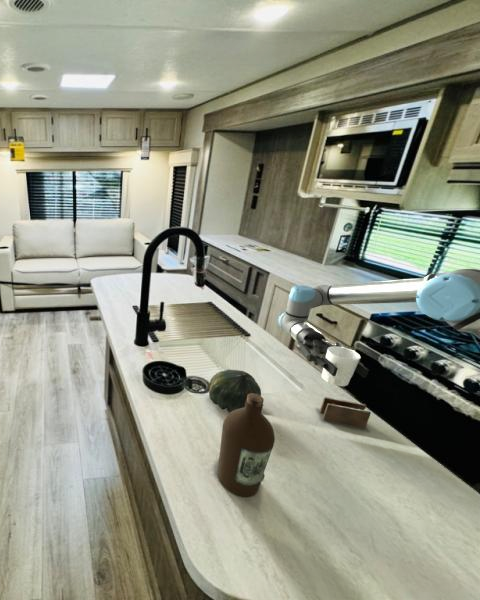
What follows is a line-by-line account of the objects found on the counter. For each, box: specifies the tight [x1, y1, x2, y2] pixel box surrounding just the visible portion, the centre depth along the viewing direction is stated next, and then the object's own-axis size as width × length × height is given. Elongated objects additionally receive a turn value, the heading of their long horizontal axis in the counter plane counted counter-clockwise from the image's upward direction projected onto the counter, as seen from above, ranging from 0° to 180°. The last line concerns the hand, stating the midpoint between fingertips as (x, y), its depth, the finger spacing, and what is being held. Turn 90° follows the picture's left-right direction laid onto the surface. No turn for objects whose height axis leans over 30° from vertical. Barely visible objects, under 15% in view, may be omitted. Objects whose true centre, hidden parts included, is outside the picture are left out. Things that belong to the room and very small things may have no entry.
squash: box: [208, 369, 262, 413], centre depth 100 cm, size 14×15×15 cm
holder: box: [319, 396, 372, 430], centre depth 93 cm, size 10×5×7 cm, turn 68°
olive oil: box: [216, 393, 276, 498], centre depth 73 cm, size 11×11×25 cm
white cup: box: [321, 346, 361, 387], centre depth 97 cm, size 8×8×10 cm
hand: (350, 372), depth 92 cm, fingers closed on white cup, 8 cm apart
